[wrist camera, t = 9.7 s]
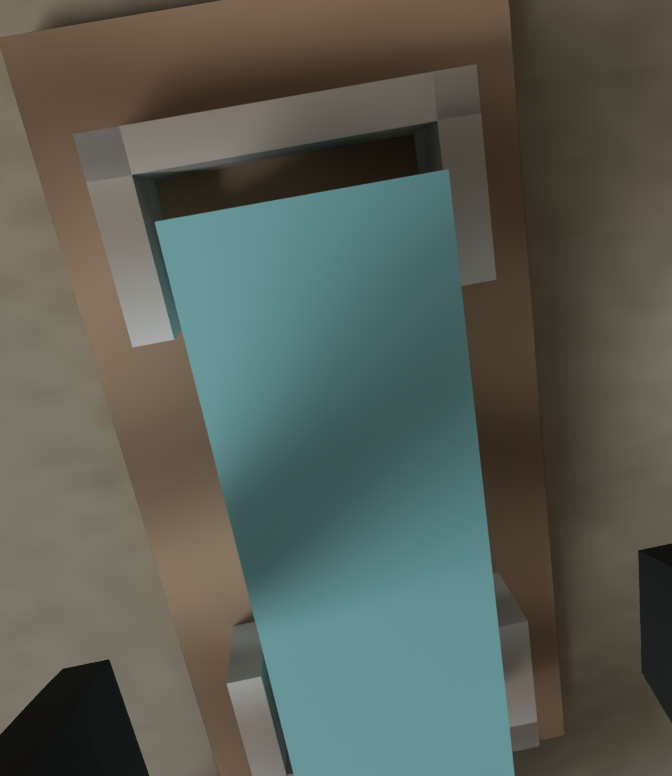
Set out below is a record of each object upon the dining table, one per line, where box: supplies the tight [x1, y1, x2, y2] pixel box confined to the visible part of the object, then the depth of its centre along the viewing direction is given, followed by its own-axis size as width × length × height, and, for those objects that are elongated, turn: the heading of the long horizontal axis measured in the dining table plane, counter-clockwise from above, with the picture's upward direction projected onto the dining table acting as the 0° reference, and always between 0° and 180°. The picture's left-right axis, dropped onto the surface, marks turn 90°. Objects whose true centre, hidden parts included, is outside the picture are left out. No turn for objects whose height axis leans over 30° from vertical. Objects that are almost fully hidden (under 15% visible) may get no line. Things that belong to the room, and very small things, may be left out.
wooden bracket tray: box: [0, 0, 565, 776], centre depth 14 cm, size 20×10×3 cm, turn 10°
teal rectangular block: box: [155, 169, 515, 776], centre depth 12 cm, size 12×4×5 cm, turn 10°
